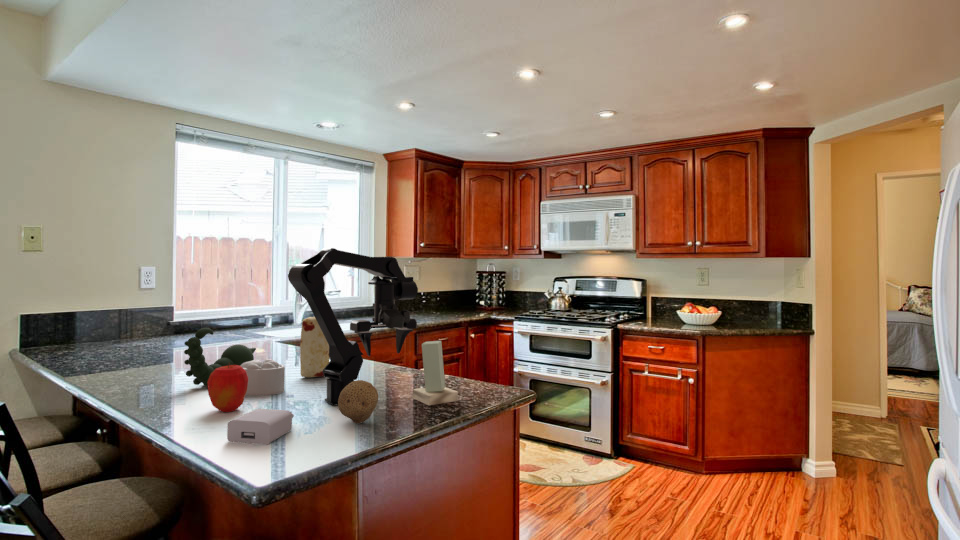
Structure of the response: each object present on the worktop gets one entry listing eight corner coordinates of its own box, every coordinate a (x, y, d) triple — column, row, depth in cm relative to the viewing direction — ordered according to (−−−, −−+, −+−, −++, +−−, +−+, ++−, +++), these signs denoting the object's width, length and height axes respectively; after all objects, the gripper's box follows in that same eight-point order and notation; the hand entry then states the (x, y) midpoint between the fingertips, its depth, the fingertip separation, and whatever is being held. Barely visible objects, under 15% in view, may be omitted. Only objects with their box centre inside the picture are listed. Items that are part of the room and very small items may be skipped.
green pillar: (425, 392, 138) (421, 344, 138) (429, 387, 142) (425, 341, 142) (441, 391, 137) (437, 343, 137) (445, 387, 142) (441, 340, 142)
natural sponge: (368, 431, 111) (368, 385, 111) (330, 428, 113) (330, 383, 113) (383, 419, 120) (384, 377, 120) (348, 417, 122) (348, 375, 122)
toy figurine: (204, 398, 144) (268, 374, 167) (200, 332, 142) (265, 317, 166) (179, 395, 147) (245, 371, 171) (175, 330, 146) (242, 316, 169)
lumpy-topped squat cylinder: (253, 386, 153) (253, 357, 153) (292, 388, 151) (292, 359, 151) (229, 394, 143) (230, 363, 143) (271, 397, 140) (272, 365, 140)
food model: (303, 380, 161) (304, 317, 161) (296, 376, 167) (297, 315, 167) (333, 376, 167) (334, 316, 167) (325, 373, 173) (326, 314, 173)
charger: (305, 424, 117) (269, 446, 102) (268, 421, 118) (227, 442, 103) (306, 403, 117) (269, 422, 102) (269, 401, 118) (227, 419, 103)
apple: (229, 404, 132) (230, 357, 132) (256, 408, 129) (257, 360, 129) (198, 413, 123) (198, 363, 123) (225, 417, 120) (226, 366, 120)
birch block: (428, 407, 134) (429, 395, 134) (412, 400, 141) (412, 389, 141) (457, 402, 139) (457, 391, 139) (440, 396, 146) (440, 385, 146)
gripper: (366, 302, 135) (365, 361, 135) (427, 301, 146) (426, 355, 146) (349, 300, 144) (348, 355, 144) (408, 299, 155) (407, 350, 155)
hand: (383, 354), depth 147 cm, fingers open, 9 cm apart
